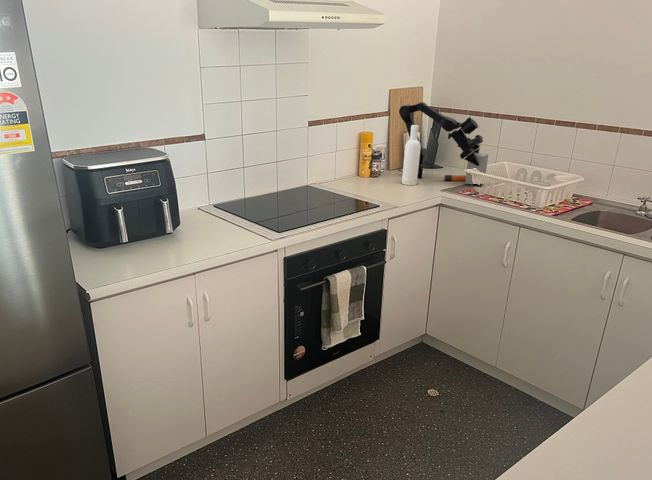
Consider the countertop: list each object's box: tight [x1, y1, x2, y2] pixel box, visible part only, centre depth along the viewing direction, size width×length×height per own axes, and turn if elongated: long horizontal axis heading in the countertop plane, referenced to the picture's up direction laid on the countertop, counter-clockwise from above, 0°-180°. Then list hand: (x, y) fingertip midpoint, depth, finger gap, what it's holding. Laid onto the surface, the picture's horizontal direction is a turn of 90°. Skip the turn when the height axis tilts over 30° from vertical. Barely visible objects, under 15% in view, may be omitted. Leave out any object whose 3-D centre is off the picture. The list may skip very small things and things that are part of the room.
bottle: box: [401, 124, 422, 186], centre depth 285 cm, size 8×8×30 cm
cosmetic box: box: [464, 152, 489, 186], centre depth 286 cm, size 8×7×16 cm
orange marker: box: [443, 174, 466, 182], centre depth 297 cm, size 14×3×3 cm, turn 90°
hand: (480, 164), depth 284 cm, fingers closed on cosmetic box, 7 cm apart
